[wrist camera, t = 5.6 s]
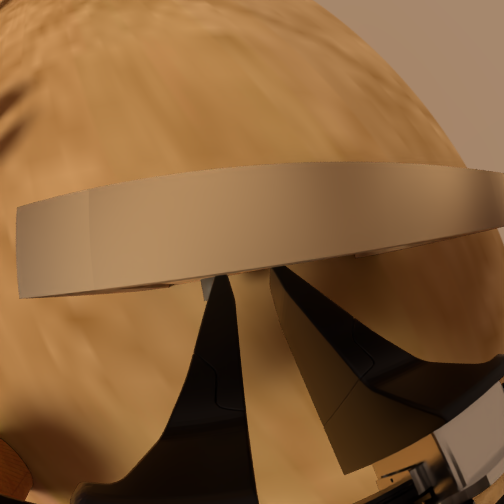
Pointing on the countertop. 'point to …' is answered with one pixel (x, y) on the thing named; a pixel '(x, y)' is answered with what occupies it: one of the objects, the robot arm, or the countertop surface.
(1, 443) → the disposable coffee cup
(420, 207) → the frame
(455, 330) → the countertop surface
